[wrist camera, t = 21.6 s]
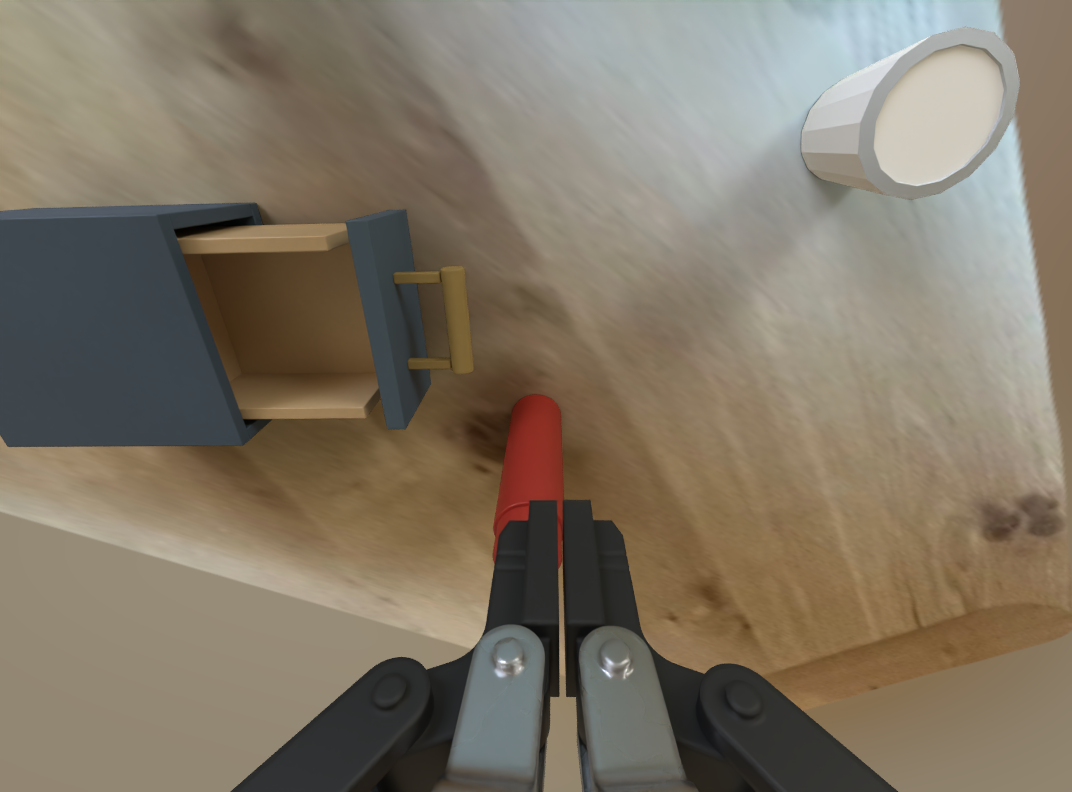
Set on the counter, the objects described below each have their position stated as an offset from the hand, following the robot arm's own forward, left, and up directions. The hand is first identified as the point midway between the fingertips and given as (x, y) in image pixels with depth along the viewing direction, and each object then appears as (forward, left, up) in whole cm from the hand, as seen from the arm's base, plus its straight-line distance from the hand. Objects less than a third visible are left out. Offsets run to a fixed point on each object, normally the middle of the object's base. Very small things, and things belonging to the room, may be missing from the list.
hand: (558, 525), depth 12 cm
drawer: (+10, -10, -22) cm, 27 cm away
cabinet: (+19, -19, -23) cm, 36 cm away
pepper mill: (+8, +6, -23) cm, 25 cm away
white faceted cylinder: (-20, +6, -23) cm, 31 cm away
